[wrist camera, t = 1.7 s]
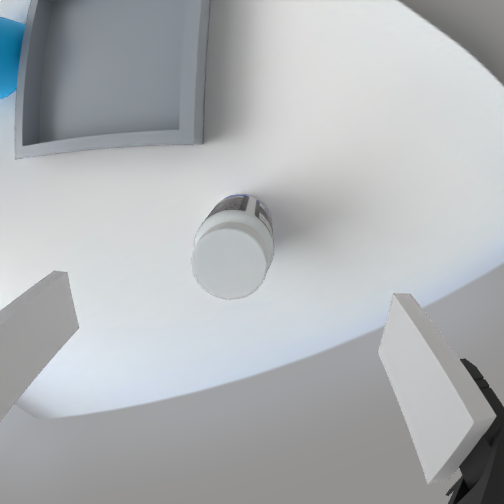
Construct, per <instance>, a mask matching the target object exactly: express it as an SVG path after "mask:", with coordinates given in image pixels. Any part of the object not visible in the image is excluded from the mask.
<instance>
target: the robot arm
mask: <svg viewBox="0 0 504 504" xmlns="http://www.w3.org/2000/svg"><path fill="white" fill-rule="evenodd" d="M78 329H79V325H78V321H77V317H76V312H75V308H74V304H73V299H72V294H71V289H70V284H69V279H68V274H67V272H60V271H53V272H52V273H50V274H49V275H48V276H46V277H45V278H43V279H42V280H41V281H39V282H38V283H37V284H35V285H34V286H32V287H31V288H30V289H28V290H27V291H26V292H24V293H23V294H22V295H20V296H19V297H18V298H16V299H15V300H14V301H12V302H11V303H10V304H9V305H7V306H6V307H5V308H3V309H2V310H1V311H0V422H1V420H2V419H3V418H4V416H5V415H6V414H7V413H8V411H9V410H10V409H11V407H12V406H13V405H14V404H15V403H16V401H17V400H18V399H19V398H20V396H21V395H22V394H23V393H24V391H25V390H26V389H27V388H28V386H29V385H30V384H31V383H32V382H33V380H34V379H35V378H36V377H37V376H38V374H39V373H40V372H41V371H42V370H43V368H44V367H45V366H46V365H47V364H48V363H49V361H50V360H51V359H52V358H53V357H54V356H55V354H56V353H57V352H58V351H59V350H60V349H61V348H62V347H63V345H64V344H65V343H66V342H67V341H68V340H69V339H70V338H71V336H72V335H73V334H74V333H75V332H76V331H77V330H78ZM378 354H379V356H380V359H381V361H382V363H383V366H384V368H385V370H386V373H387V375H388V378H389V380H390V382H391V385H392V387H393V390H394V392H395V395H396V397H397V400H398V403H399V405H400V408H401V410H402V413H403V415H404V418H405V421H406V423H407V426H408V429H409V431H410V434H411V437H412V440H413V442H414V445H415V448H416V451H417V454H418V456H419V459H420V462H421V465H422V468H423V471H424V474H425V477H426V480H427V484H431V483H435V482H439V481H443V480H446V479H449V478H450V477H451V476H452V475H453V474H454V473H455V472H456V470H457V469H458V468H460V470H461V472H462V476H461V478H460V479H459V480H458V481H457V482H456V483H455V484H454V485H453V486H452V488H451V489H449V491H448V492H447V494H446V495H447V496H449V494H451V493H452V492H453V491H454V492H453V494H452V496H451V498H450V501H449V503H448V504H504V407H503V405H502V404H501V402H500V401H499V399H498V398H497V396H496V395H495V393H494V392H493V390H492V389H491V388H489V384H488V383H487V382H486V380H484V379H483V376H482V374H481V373H480V372H479V370H478V369H477V367H476V366H474V365H473V364H472V363H470V362H469V361H467V360H466V359H459V358H458V357H457V355H456V354H455V352H454V351H453V349H452V348H451V347H450V345H449V344H448V342H447V341H446V340H445V338H444V337H443V336H442V334H441V333H440V332H439V330H438V329H437V327H436V326H435V325H434V323H433V322H432V321H431V320H430V318H429V317H428V316H427V314H426V313H425V312H424V310H423V309H422V308H421V307H420V305H419V304H418V303H417V301H416V300H415V299H414V298H413V296H412V295H411V294H393V297H392V301H391V305H390V309H389V313H388V317H387V321H386V325H385V328H384V332H383V336H382V339H381V343H380V347H379V350H378Z"/></svg>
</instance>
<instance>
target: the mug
mask: <svg viewBox="0 0 504 504" xmlns="http://www.w3.org/2000/svg"><path fill="white" fill-rule="evenodd" d="M24 30H25V24H22V23H19V22H15V21H12V20H9V19H6V18H2V17H0V99H1V98H4V97H7V96H8V95H10V94H11V93H12V92H14V91H15V90H16V89H17V79H18V70H19V62H20V54H21V48H22V41H23V36H24Z"/></svg>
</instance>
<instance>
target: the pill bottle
mask: <svg viewBox="0 0 504 504" xmlns="http://www.w3.org/2000/svg"><path fill="white" fill-rule="evenodd" d="M273 255H274V243H273V228H272V219H271V216H270V213H269V211H268V209H267V208H266V206H265V205H264V204H263V203H262V202H261V201H259V200H258V199H256V198H254V197H252V196H249V195H245V194H236V195H231V196H229V197H226V198H224V199H223V200H221V201H220V202H219V203H218V204H217V205H216V206H215V207H214V209H213V210H212V211H211V213H210V214H209V215H208V217H207V218H206V219H205V221H204V222H203V223H202V224H201V226H200V227H199V229H198V231H197V233H196V236H195V240H194V250H193V253H192V258H191V266H192V271H193V274H194V277H195V279H196V280H197V282H198V283H199V285H200V286H201V287H202V288H203V289H204V290H206V291H207V292H208V293H210V294H211V295H213V296H216V297H219V298H223V299H239V298H243V297H246V296H248V295H250V294H251V293H253V292H254V291H255V290H257V289H258V287H259V286H260V285H261V284H262V282H263V280H264V278H265V276H266V273H267V270H268V269H269V267H270V265H271V262H272V259H273Z"/></svg>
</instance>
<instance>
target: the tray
mask: <svg viewBox="0 0 504 504" xmlns="http://www.w3.org/2000/svg"><path fill="white" fill-rule="evenodd" d="M209 12H210V0H31V3H30V7H29V11H28V15H27V20H26V25H25V30H24V36H23V41H22V48H21V54H20V62H19V70H18V79H17V91H16V107H15V160H16V159H22V158H28V157H35V156H42V155H49V154H57V153H65V152H74V151H83V150H93V149H105V148H118V147H134V146H154V145H194V144H203V123H204V95H205V73H206V55H207V39H208V25H209Z"/></svg>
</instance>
